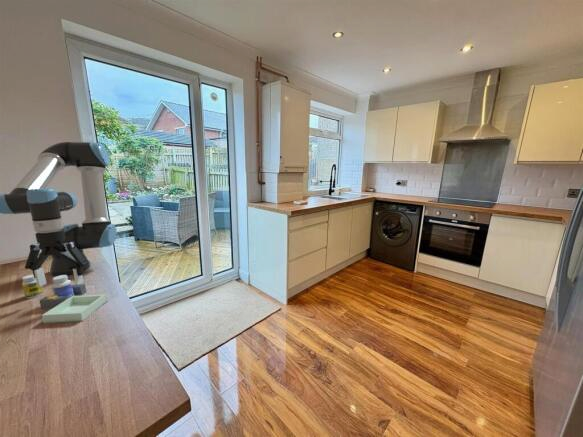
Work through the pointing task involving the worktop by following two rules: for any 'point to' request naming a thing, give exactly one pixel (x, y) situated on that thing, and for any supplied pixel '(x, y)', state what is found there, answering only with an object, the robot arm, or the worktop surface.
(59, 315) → the tray
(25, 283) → the supplement bottle
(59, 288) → the pill bottle
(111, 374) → the worktop surface
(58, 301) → the block
